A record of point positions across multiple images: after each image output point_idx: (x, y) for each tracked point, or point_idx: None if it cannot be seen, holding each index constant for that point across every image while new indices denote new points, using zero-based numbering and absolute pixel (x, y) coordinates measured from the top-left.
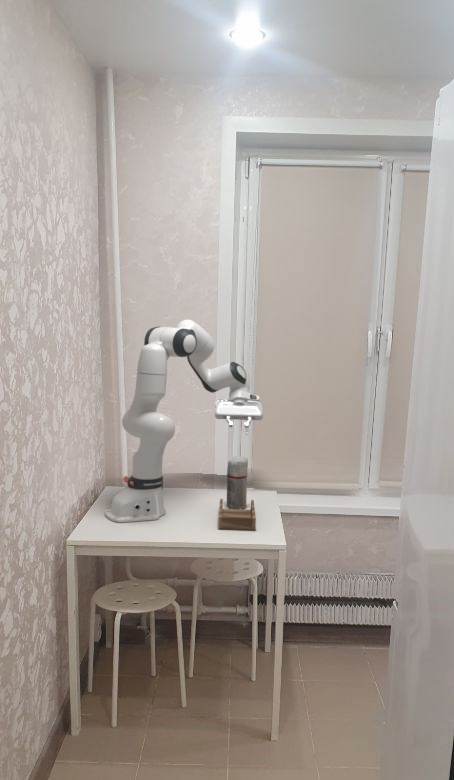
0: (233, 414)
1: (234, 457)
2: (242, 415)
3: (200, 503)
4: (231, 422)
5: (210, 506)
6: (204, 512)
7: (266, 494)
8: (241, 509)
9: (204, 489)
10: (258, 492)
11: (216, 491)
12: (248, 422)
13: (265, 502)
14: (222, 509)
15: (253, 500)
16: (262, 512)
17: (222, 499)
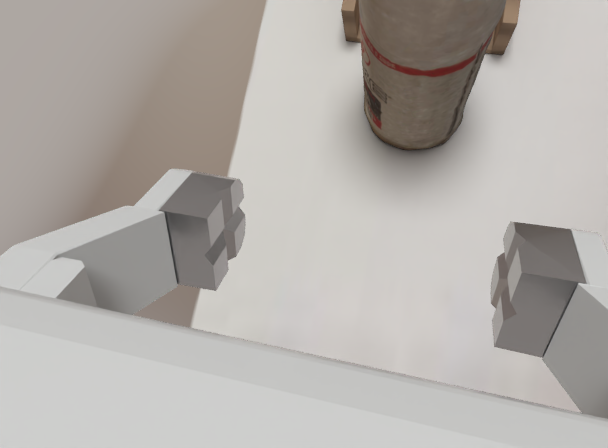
0: (544, 413)
1: None
2: (192, 332)
3: (598, 157)
4: (547, 263)
5: (546, 108)
6: (584, 21)
7: (220, 297)
8: None
9: None
10: (252, 337)
11: (486, 377)
12: (137, 204)
13: (259, 166)
14: (493, 37)
15: (344, 1)
16: (308, 27)
17: (505, 12)
